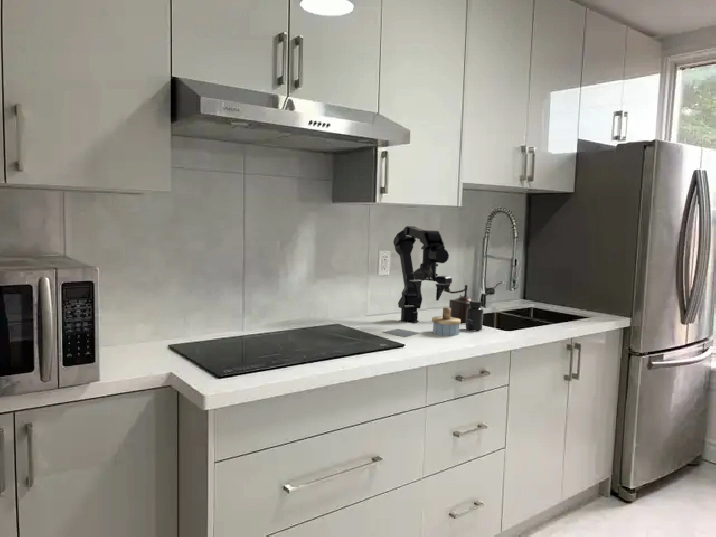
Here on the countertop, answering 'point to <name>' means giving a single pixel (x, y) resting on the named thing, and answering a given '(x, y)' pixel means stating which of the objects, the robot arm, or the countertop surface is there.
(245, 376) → the countertop surface
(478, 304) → the supplement bottle
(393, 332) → the mat
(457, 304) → the manual coffee grinder
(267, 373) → the countertop surface
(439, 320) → the lid
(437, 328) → the bowl
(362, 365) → the countertop surface
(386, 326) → the countertop surface
